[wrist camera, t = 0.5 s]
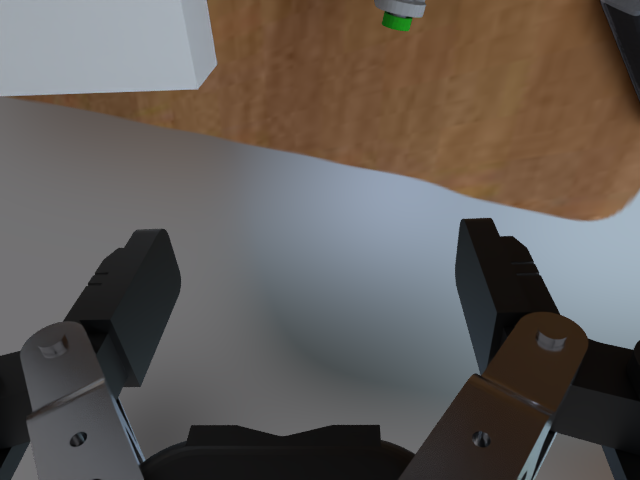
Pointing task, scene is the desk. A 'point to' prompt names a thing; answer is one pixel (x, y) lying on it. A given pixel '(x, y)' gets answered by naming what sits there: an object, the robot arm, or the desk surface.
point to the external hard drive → (626, 34)
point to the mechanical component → (400, 12)
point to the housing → (103, 46)
